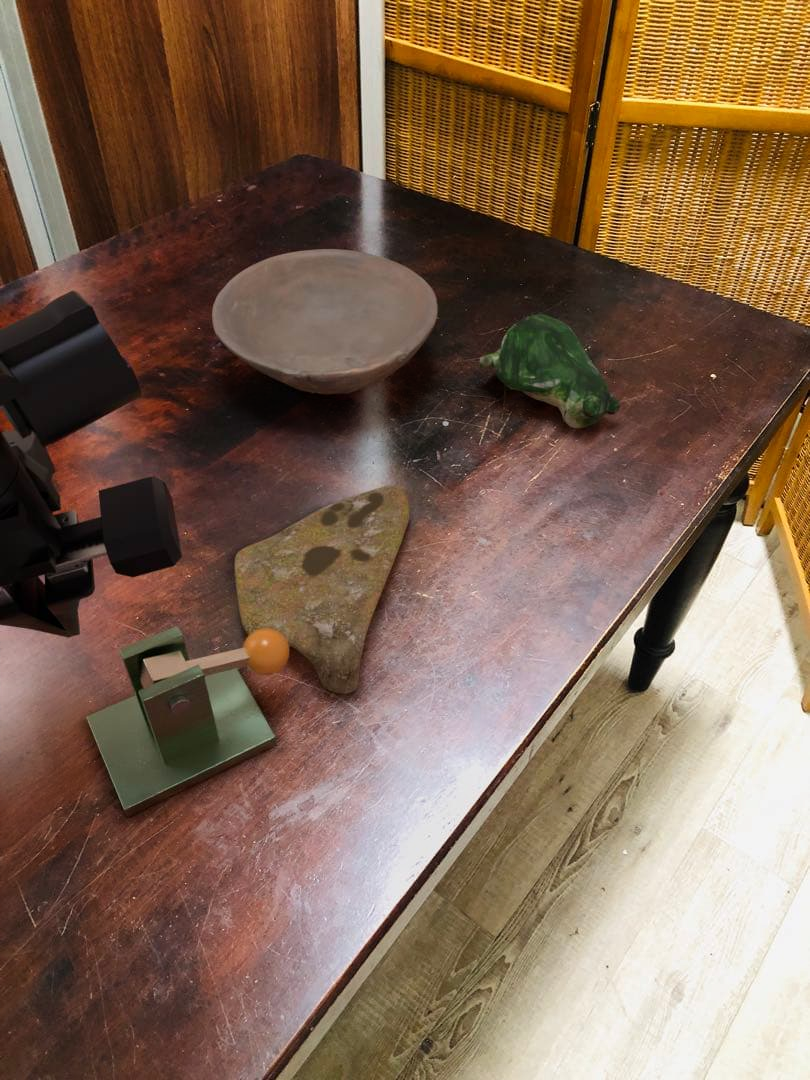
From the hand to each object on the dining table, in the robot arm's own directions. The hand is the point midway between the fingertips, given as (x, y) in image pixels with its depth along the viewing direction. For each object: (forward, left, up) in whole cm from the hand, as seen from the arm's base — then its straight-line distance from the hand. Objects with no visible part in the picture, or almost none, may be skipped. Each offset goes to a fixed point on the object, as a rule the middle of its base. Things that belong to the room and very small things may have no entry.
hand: (74, 630), depth 60 cm
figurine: (+58, -3, -12) cm, 59 cm away
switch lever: (+6, -6, -7) cm, 11 cm away
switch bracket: (+3, -5, -12) cm, 14 cm away
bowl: (+46, +20, -12) cm, 52 cm away
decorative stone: (+22, -1, -12) cm, 25 cm away
